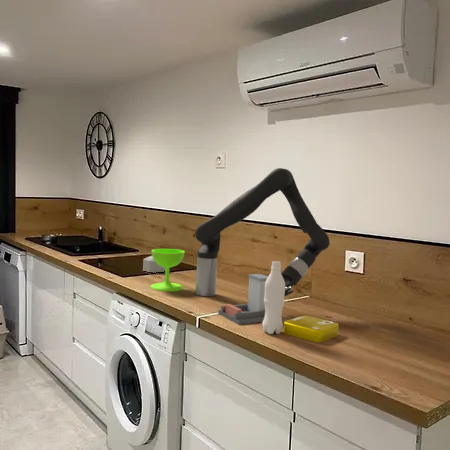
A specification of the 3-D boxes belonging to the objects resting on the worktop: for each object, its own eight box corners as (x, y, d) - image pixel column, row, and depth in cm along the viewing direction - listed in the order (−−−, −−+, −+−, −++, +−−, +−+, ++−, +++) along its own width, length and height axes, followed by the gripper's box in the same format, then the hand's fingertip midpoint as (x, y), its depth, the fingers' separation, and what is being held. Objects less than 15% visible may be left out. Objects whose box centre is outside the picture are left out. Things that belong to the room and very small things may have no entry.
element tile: (303, 325, 179) (304, 313, 178) (340, 335, 169) (341, 322, 168) (281, 333, 167) (281, 320, 167) (318, 344, 157) (319, 330, 157)
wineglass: (167, 293, 220) (168, 254, 218) (143, 287, 229) (144, 250, 228) (190, 288, 232) (191, 251, 231) (166, 283, 242) (167, 247, 241)
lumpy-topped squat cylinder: (140, 271, 272) (141, 256, 271) (158, 269, 281) (159, 254, 280) (151, 274, 265) (152, 258, 264) (170, 272, 274) (170, 257, 273)
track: (218, 313, 188) (218, 302, 188) (256, 309, 197) (257, 299, 197) (238, 324, 174) (239, 312, 174) (279, 320, 183) (279, 308, 183)
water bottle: (266, 335, 163) (270, 263, 161) (259, 329, 169) (263, 259, 168) (285, 335, 164) (290, 263, 163) (277, 328, 171) (282, 260, 169)
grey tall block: (246, 309, 190) (248, 274, 189) (258, 308, 193) (260, 273, 192) (258, 314, 183) (260, 278, 182) (269, 313, 185) (272, 277, 184)
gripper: (280, 262, 199) (254, 293, 194) (300, 268, 188) (272, 300, 183) (289, 274, 202) (264, 305, 197) (310, 280, 191) (283, 313, 186)
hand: (268, 303), depth 190 cm, fingers closed
